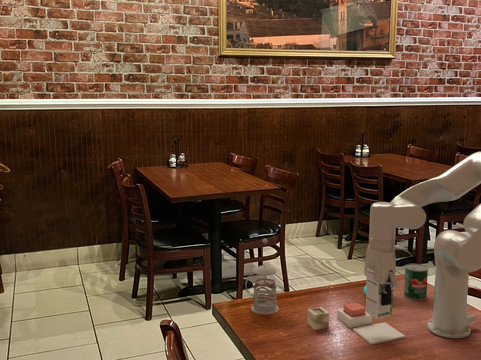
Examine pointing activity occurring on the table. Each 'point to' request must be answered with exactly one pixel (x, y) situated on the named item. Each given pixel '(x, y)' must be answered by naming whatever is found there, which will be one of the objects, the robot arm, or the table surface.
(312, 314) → the letter cube
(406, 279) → the canned tomato
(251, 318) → the table surface
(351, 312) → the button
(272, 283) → the french press
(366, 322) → the button housing
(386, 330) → the grey pad
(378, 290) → the syrup box
